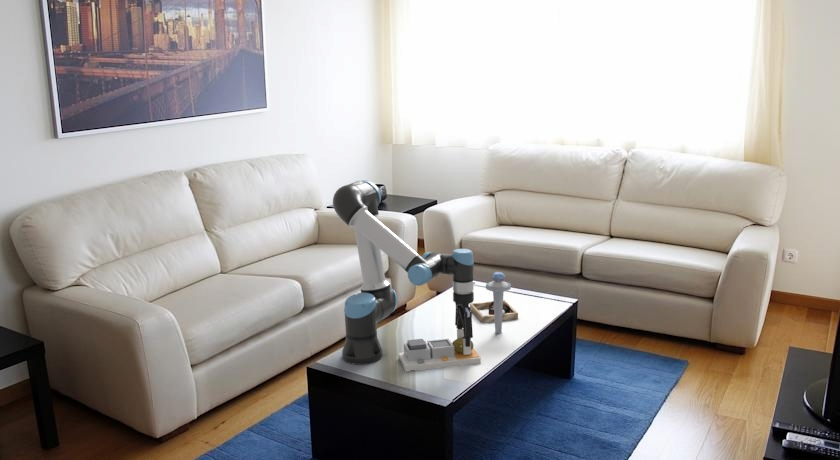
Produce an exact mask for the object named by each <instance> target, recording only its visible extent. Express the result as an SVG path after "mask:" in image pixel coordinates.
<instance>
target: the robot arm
mask: <svg viewBox="0 0 840 460" xmlns="http://www.w3.org/2000/svg"><path fill="white" fill-rule="evenodd" d="M381 201H382V194H381V190H380V188H379V187H378V186H377V185H376V184H375V183H374V182H372V181H370V180H357V181H354V182H351V183H349V184H346V185H342V186H341V187H339V188H338V189H336V191H335V193H334V194H333V198H332V205H333V209H334V211H335V213H336V215H337V216H338V217H339V219H341V220H342V222H343V223H345V224H346V225H347V226H348V227H349V228H353V229H354V234H355V241H356V246H357V253H358V259H359V264H360V265H359V266H360V270H361V276H362V282H363V283H362V284H361V286H360V287H359V289H360V292H358V293H354V294H351V295H349V296H348V297H347V298H346V299H345V301H344V309H343V310H344V311H343V312H344V323H345V324H344V326H345V341H344V343H343V348H342V353H341V355H342V360H343V361H344V362H346V363H348V362H349V364H352V363H354V365H366V364H367V365H368V364H372V363H375V362H378V361H379V360H381V359H382V358H383V348H382V345H381V343H380V341H379V338H378V327H377V325H378V323H379V322H381V321H383V320H384V319H385V318H388V317H389V316H391V315H392V314H393V312H394V311H395V310H396V308H397V306H398V302H399V301H398V295H397V292H396V291H395V290H394V289H393V288H392V287H391V283H390V281H388V280H387V279H386V276H385V270H384V263H383V257H382V252H383V253H384V254H385V255H386V256H387V257H389V258H390V259H391V260H392V261H394V262H395V263H396V264H397V265H398V266H399V267H401V268H402V269H403V270H404V271H405V272H406V273H407V277H408V280H409V282H410V283H411V284H412V285H414V286H416V287H417V286H418V287H419V286H423V285H425V284H427V283H430V281H432V280H433V279H434V278H436V277H437V276H439V275H449V276H450V275H451V276H452V291H453V292H452V300H453V301H452V302H453V303H455V317H454V318H455V321H454V325H455V326H456V339H459V338H462V339H463V354H464V355H467V354H471V341H472V339H473V337H474V334H473V312H472V311H471V310H470V303H473V302H474V301H475V297H474V295H475V294H474V284H475V283H476V282H475V281H474V264H475V263H474V262H475V261H474V253H473V251H472V250H470V249H469V248H457V249H454V250H453V251H452V253H442V252H435V251H429V252H428V251H426V252H424V253H423V254H422V256H421V255H420V254H418V253H417V252H416V251H415V250H414V249H413V248H411V247H410V246H409V245H408V244H407V243H406V242H405V241H403V240H402V239H401V238H400V237H399V236H398V235H396V234H395V233H394V232H393V231H392V230H391V229H389V228H388V227H387V226H386V225H385V224H383V222H381V220H380V219H378V218H377V217H378V216H379V214H380V213H379V208H378V207H379V205H380V203H381Z"/></svg>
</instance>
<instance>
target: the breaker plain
mask: <svg viewBox="0 0 840 460" xmlns="http://www.w3.org/2000/svg"><path fill="white" fill-rule="evenodd" d="M425 341H426V340H424V339H423V338H418V339H417V338H416V339H408V340H407V343H408V348H409V349H410V350H417V349H426V343H427V342H426V343H425Z"/></svg>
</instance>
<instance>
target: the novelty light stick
mask: <svg viewBox="0 0 840 460" xmlns="http://www.w3.org/2000/svg"><path fill="white" fill-rule="evenodd" d="M505 279H506V275H505V274H504V273H503V272H501V271H495V272H492V276H491V280H492V281H488V282H486V283H485V289H486V290H487V291H490V292H492V296H493V297H492V298H493V299H492V300H493V301H494V307H493V309H494V318H495V321H494V331H495V334H502V330H503V327H502V326H503V320H502V314H503V300H504V292H507V291H510V290H511V288H512V284H511V283H510V282H508V281H504V280H505Z"/></svg>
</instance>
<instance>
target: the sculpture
mask: <svg viewBox="0 0 840 460" xmlns="http://www.w3.org/2000/svg"><path fill="white" fill-rule="evenodd" d="M451 343H452V344H453V346H454V351H456V352H458V353H463V339H462V338H459V339H457V338H456V339H454V340H453V341H452V342H451ZM461 346H462V347H461ZM474 346H475V345H474V342H473V341H472V340H471V350H472V349H473V348H474Z"/></svg>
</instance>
